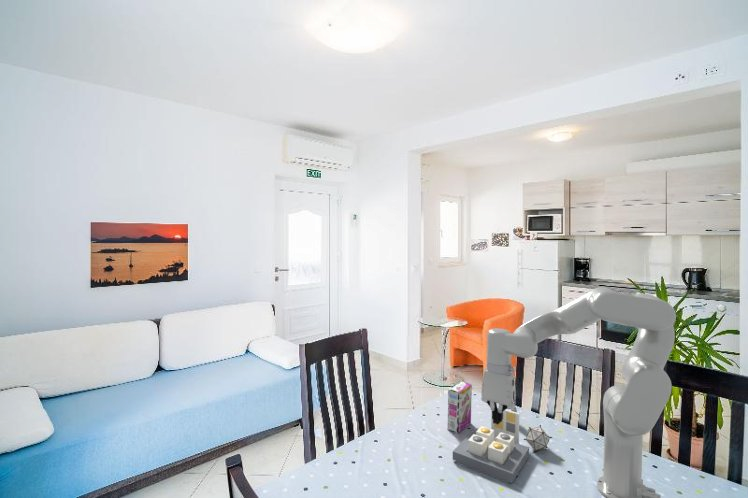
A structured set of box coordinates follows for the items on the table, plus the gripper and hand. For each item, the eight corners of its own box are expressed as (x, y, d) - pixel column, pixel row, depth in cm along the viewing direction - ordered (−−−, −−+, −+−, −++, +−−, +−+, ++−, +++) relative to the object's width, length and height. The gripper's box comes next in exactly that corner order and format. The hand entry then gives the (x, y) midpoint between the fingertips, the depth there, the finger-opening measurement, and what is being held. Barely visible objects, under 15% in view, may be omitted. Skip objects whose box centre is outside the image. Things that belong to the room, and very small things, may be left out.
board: (529, 457, 132) (529, 447, 132) (512, 484, 117) (512, 473, 117) (473, 438, 144) (473, 429, 144) (452, 461, 130) (452, 451, 129)
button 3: (514, 450, 132) (514, 435, 131) (509, 457, 128) (509, 441, 128) (500, 445, 135) (500, 431, 134) (495, 452, 131) (495, 437, 130)
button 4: (507, 460, 126) (507, 444, 126) (502, 467, 122) (502, 451, 122) (493, 455, 129) (493, 439, 129) (488, 461, 125) (488, 446, 125)
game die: (543, 461, 135) (556, 449, 129) (519, 451, 137) (531, 437, 131) (543, 439, 142) (556, 425, 136) (520, 428, 144) (532, 415, 138)
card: (520, 443, 141) (521, 411, 140) (518, 446, 138) (518, 414, 138) (494, 434, 147) (494, 403, 146) (491, 437, 144) (491, 406, 144)
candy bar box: (458, 434, 147) (458, 392, 146) (447, 430, 150) (447, 389, 149) (472, 423, 155) (472, 383, 155) (460, 419, 159) (461, 380, 158)
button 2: (486, 452, 130) (487, 437, 130) (481, 459, 126) (481, 443, 126) (473, 448, 133) (473, 433, 133) (467, 454, 129) (467, 439, 129)
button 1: (494, 443, 136) (494, 429, 136) (489, 449, 132) (489, 435, 132) (481, 439, 139) (481, 425, 139) (476, 445, 135) (476, 430, 135)
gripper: (525, 369, 123) (524, 425, 124) (480, 359, 132) (479, 411, 133) (518, 376, 117) (516, 434, 118) (472, 365, 126) (470, 419, 127)
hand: (497, 422), depth 125 cm, fingers closed
